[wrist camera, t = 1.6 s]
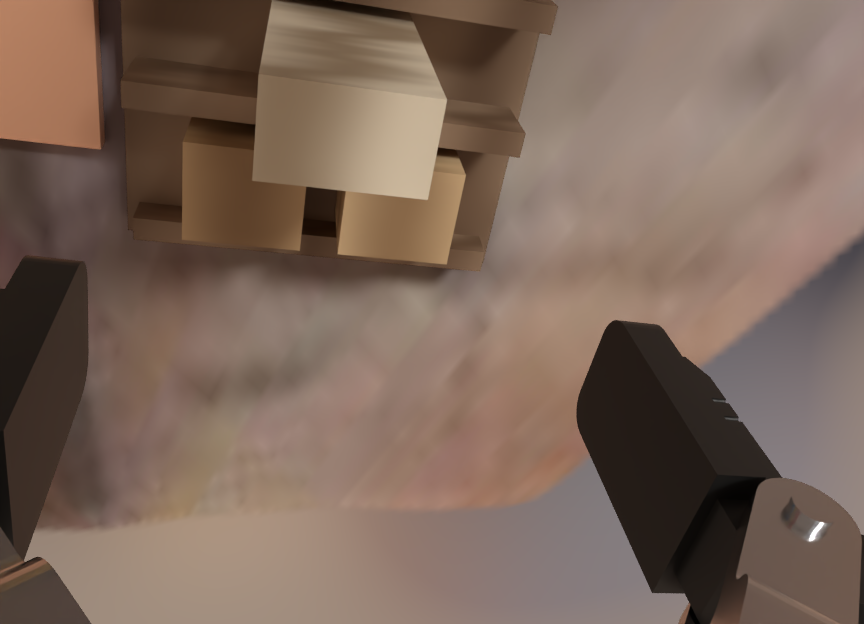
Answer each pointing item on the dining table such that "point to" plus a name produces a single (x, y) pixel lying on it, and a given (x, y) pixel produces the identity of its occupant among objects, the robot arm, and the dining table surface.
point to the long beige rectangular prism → (346, 100)
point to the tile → (51, 72)
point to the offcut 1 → (234, 191)
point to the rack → (238, 87)
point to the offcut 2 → (403, 218)
